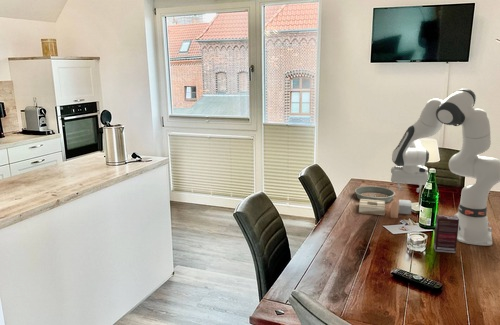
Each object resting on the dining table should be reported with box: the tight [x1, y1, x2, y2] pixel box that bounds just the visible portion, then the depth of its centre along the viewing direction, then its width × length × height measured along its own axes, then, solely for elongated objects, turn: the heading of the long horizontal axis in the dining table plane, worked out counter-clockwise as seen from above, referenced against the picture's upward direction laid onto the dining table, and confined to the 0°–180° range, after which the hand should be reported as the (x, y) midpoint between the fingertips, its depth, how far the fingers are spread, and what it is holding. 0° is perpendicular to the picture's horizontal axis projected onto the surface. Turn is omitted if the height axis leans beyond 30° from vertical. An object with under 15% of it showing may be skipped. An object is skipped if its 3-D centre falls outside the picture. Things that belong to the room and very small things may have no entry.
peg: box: [389, 199, 399, 219], centre depth 215 cm, size 4×4×9 cm
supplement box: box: [432, 214, 459, 254], centre depth 174 cm, size 9×5×16 cm, turn 74°
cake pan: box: [354, 185, 396, 204], centre depth 249 cm, size 25×25×4 cm
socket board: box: [358, 199, 386, 216], centre depth 227 cm, size 14×14×4 cm
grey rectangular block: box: [398, 199, 412, 216], centre depth 225 cm, size 11×6×5 cm, turn 160°
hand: (408, 190), depth 224 cm, fingers open, 8 cm apart
